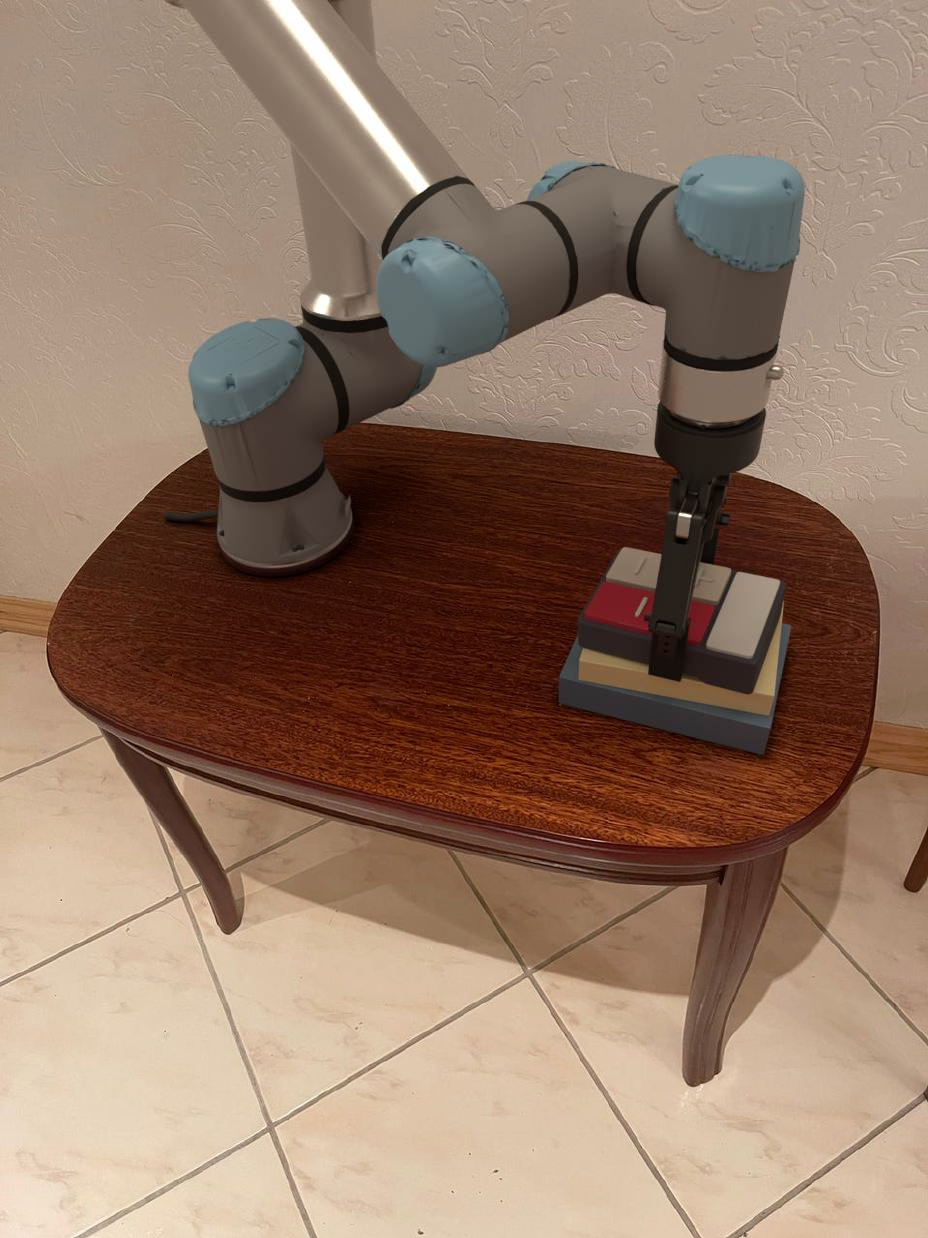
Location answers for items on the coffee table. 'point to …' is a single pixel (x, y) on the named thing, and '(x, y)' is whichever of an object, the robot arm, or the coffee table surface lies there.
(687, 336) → the robot arm
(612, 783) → the coffee table surface
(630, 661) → the book stack
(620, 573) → the calculator
